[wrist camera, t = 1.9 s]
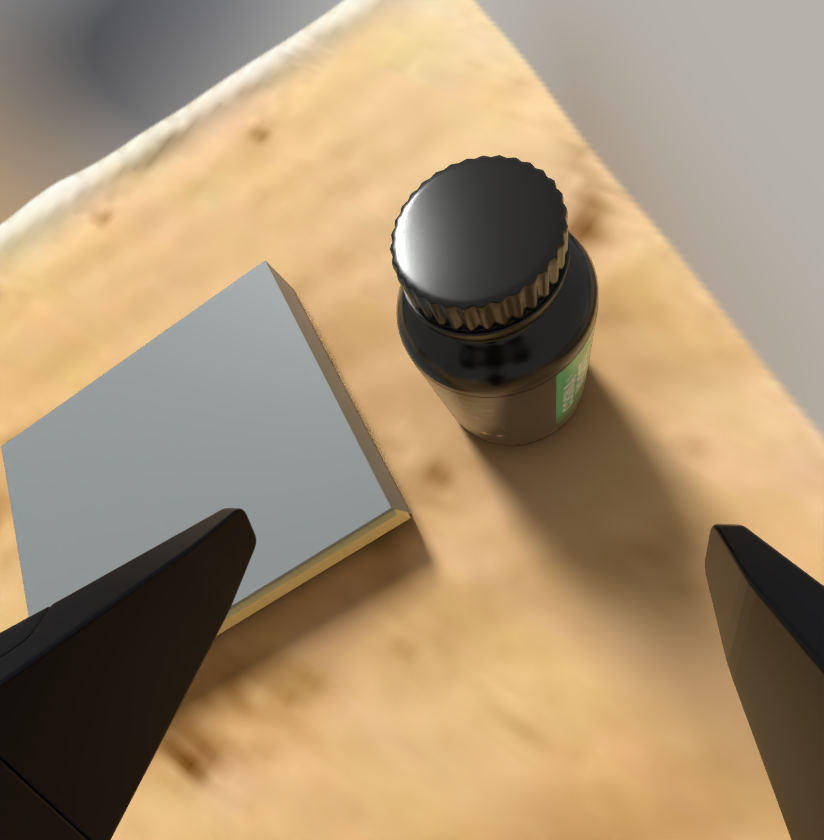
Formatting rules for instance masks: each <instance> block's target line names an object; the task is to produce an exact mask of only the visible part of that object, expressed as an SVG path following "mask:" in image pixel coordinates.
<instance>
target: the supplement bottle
mask: <svg viewBox="0 0 824 840" xmlns="http://www.w3.org/2000/svg"><path fill="white" fill-rule="evenodd" d="M567 220H568V212H567V208H566V207H565V205H564V204H563V194H562V193H561V192H560V191H559V190H558V189H557V188H556V184H555V181H554V180H552V179H550V178H548V177H547V176H546V174H545V172H544V171H543V170H541V169H537V168H535V167H534V166H533V165H532V164H531V163H529V162H521V161H520V160H519V159H517V158H505V157H503V156H500V155H499V156H494V157H488V156H481V157H478V158H476V159H466V160H464V161H462V162H460V163H457V164H451V165H450V166H448V167H447V168H446V169H445V170H442V171H439V172H436V173H435V174H434V175H433V176H432V177H431V178H430V179H428V180H426V181H424V182H422V184H421V185H420V187H419V188H418V189H417V190H416V191H414V192H413V193H412V194H411V195H410V197H409V200H408V201H407V202H406V203H405V204H404V205H403V206H402V208H401V213H400V215H399V216H398V217H397V219H396V220H395V229H394V230H393V232H392V234H391V236H392V241H393V242H392V245H391V248H390V251H391V254H392V256H393V259H392V265H393V268H394V270H395V272H396V273H397V277H398V281H399V282H400V284H401V285H400V289H399V293H398V299H397V324H398V329H399V334H400V337H401V340H402V342H403V345H404V347H405V349H406V351H407V353H408V354H409V356H410V358H411V359H412V361H413V362H414V364H415V365H416V366H417V368H418V369H419V371H420V372H421V373H422V375H423V376H424V377H425V379H426V380H427V381H428V383H429V384H430V385H431V387H432V388H433V389H434V391H435V392H436V393H437V395H438V396H439V397H440V399H441V400H442V401H443V403H444V404H445V405H446V407H447V408H448V409H449V411H450V412H451V413H452V415H453V416H454V417H455V418H456V420H457V421H458V422H459V423H460V424H461V425H462V426H463V427H464V428H465V429H467V430H468V431H469V432H471V433H472V434H474V435H475V436H477V437H479V438H481V439H483V440H486V441H489V442H492V443H496V444H503V445H520V444H526V443H530V442H534V441H537V440H540V439H542V438H544V437H546V436H548V435H550V434H551V433H553V432H555V431H556V430H557V429H559V428H560V427H561V426H562V425H563V424H564V423H565V422H566V421H567V420H568V419H569V418H570V416H571V415H572V414H573V412H574V411H575V409H576V407H577V406H578V403H579V401H580V399H581V396H582V393H583V390H584V385H585V381H586V376H587V370H588V364H589V358H590V352H591V346H592V340H593V334H594V329H595V323H596V317H597V309H598V281H597V275H596V271H595V268H594V265H593V263H592V260H591V258H590V256H589V254H588V252H587V250H586V249H585V248H584V246H583V245H582V243H581V242H580V241H579V240H578V239H577V237H576V236H575V235H574V234H573V233H571V232H570V231H569V230H568V225H567Z"/></svg>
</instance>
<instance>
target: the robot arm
mask: <svg viewBox="0 0 824 840" xmlns="http://www.w3.org/2000/svg"><path fill="white" fill-rule="evenodd" d="M255 547H256V535H255V533H254V530H253V528H252V526H251V523H250V521H249V519H248V516H247V514H246V512H245V511H244V510H243V509H241V508H224V509H222V510H220V511H218V512H216V513H214V514H213V515H211V516H209V517H207V518H205V519H204V520H202V521H200V522H198V523H197V524H195V525H193V526H191V527H189V528H188V529H186V530H184V531H182V532H180V533H179V534H177V535H175V536H173V537H172V538H170V539H168V540H166V541H164V542H163V543H161V544H159V545H157V546H155V547H154V548H152V549H150V550H148V551H147V552H145V553H143V554H141V555H139V556H138V557H136V558H134V559H132V560H130V561H129V562H127V563H125V564H123V565H121V566H120V567H118V568H116V569H114V570H113V571H111V572H109V573H107V574H105V575H104V576H102V577H100V578H98V579H96V580H95V581H93V582H91V583H89V584H88V585H86V586H84V587H82V588H80V589H79V590H77V591H75V592H73V593H71V594H70V595H68V596H66V597H64V598H63V599H61V600H59V601H57V602H55V603H54V604H52V605H51V607H46V608H44V609H43V610H41V611H39V612H37V613H36V614H34V615H32V616H30V617H28V618H27V619H25V620H23V621H21V622H19V623H17V624H16V625H14V626H12V627H10V628H8V629H6V630H5V631H3V632H1V633H0V840H111V838H112V836H113V834H114V832H115V830H116V828H117V826H118V825H119V823H120V821H121V819H122V817H123V815H124V813H125V811H126V809H127V807H128V805H129V803H130V801H131V800H132V798H133V796H134V794H135V792H136V790H137V788H138V786H139V784H140V782H141V780H142V778H143V776H144V774H145V773H146V771H147V769H148V767H149V765H150V763H151V761H152V759H153V757H154V755H155V753H156V751H157V749H158V748H159V746H160V744H161V742H162V740H163V738H164V736H165V734H166V732H167V730H168V728H169V726H170V724H171V723H172V721H173V719H174V717H175V715H176V713H177V711H178V709H179V707H180V705H181V703H182V701H183V699H184V698H185V696H186V694H187V692H188V690H189V688H190V686H191V684H192V682H193V680H194V678H195V676H196V674H197V673H198V671H199V669H200V667H201V665H202V663H203V661H204V659H205V657H206V655H207V653H208V651H209V649H210V647H211V646H212V644H213V642H214V640H215V638H216V636H217V634H218V632H219V630H220V628H221V626H222V624H223V622H224V620H225V618H226V616H227V614H228V612H229V610H230V608H231V606H232V603H233V601H234V599H235V596H236V594H237V591H238V589H239V586H240V584H241V581H242V579H243V577H244V574H245V572H246V569H247V567H248V564H249V562H250V559H251V557H252V554H253V552H254V549H255ZM705 570H706V576H707V580H708V584H709V589H710V593H711V597H712V601H713V606H714V610H715V614H716V618H717V622H718V627H719V631H720V635H721V639H722V643H723V648H724V652H725V655H726V659H727V663H728V666H729V669H730V672H731V675H732V678H733V681H734V684H735V687H736V690H737V692H738V695H739V698H740V700H741V703H742V706H743V709H744V711H745V714H746V717H747V720H748V722H749V725H750V728H751V730H752V733H753V736H754V739H755V741H756V744H757V747H758V750H759V752H760V755H761V758H762V761H763V763H764V766H765V769H766V771H767V774H768V777H769V780H770V782H771V785H772V788H773V791H774V793H775V796H776V799H777V801H778V804H779V807H780V810H781V812H782V815H783V818H784V821H785V823H786V826H787V829H788V831H789V834H790V837H791V840H824V586H823V585H822V584H820V583H819V582H818V581H816V580H815V579H814V578H812V577H811V576H810V575H808V574H807V573H806V572H804V571H803V570H802V569H800V568H799V567H798V566H796V565H795V564H794V563H792V562H791V561H790V560H788V559H787V558H786V557H784V556H783V555H782V554H781V553H779V552H778V551H777V550H775V549H774V548H773V547H771V546H770V545H769V544H767V543H766V542H765V541H763V540H762V539H761V538H759V537H758V536H757V535H755V534H754V533H753V532H751V531H750V530H749V529H747V528H746V527H744V526H742V525H735V524H716V525H714V526H713V527H712V528H711V531H710V536H709V542H708V548H707V553H706V559H705Z"/></svg>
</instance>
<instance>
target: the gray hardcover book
mask: <svg viewBox="0 0 824 840" xmlns="http://www.w3.org/2000/svg"><path fill="white" fill-rule="evenodd" d="M1 448H2V454H3V460H4V466H5V472H6V479H7V485H8V491H9V497H10V503H11V510H12V516H13V522H14V528H15V534H16V541H17V547H18V553H19V559H20V565H21V572H22V578H23V584H24V590H25V597H26V603H27V609H28V615H29V617H30V616H32V615H34V614H36V613H37V612H39V611H41V610H43V609H44V608H46V607H51V605H52V604H54V603H55V602H57V601H59V600H61V599H63V598H64V597H66V596H68V595H70V594H71V593H73V592H75V591H77V590H79V589H80V588H82V587H84V586H86V585H88V584H89V583H91V582H93V581H95V580H96V579H98V578H100V577H102V576H104V575H105V574H107V573H109V572H111V571H113V570H114V569H116V568H118V567H120V566H121V565H123V564H125V563H127V562H129V561H130V560H132V559H134V558H136V557H138V556H139V555H141V554H143V553H145V552H147V551H148V550H150V549H152V548H154V547H155V546H157V545H159V544H161V543H163V542H164V541H166V540H168V539H170V538H172V537H173V536H175V535H177V534H179V533H180V532H182V531H184V530H186V529H188V528H189V527H191V526H193V525H195V524H197V523H198V522H200V521H202V520H204V519H205V518H207V517H209V516H211V515H213V514H214V513H216V512H218V511H220V510H222V509H224V508H241V509H243V510H244V511H245V512H246V514H247V516H248V519H249V521H250V523H251V526H252V528H253V530H254V533H255V535H256V547H255V549H254V552H253V554H252V557H251V559H250V562H249V564H248V567H247V569H246V572H245V574H244V577H243V579H242V581H241V584H240V586H239V589H238V591H237V594H236V596H235V599H234V601H233V603H232V606H231V608H230V610H229V612H228V614H227V616H226V618H225V620H224V622H223V624H222V626H221V628H220V630H219V632H218V634H217V635H219V634H221V633H222V632H224V631H226V630H227V629H229V628H230V627H232V626H234V625H235V624H237V623H239V622H240V621H242V620H244V619H245V618H247V617H249V616H250V615H252V614H253V613H255V612H257V611H258V610H260V609H262V608H263V607H265V606H267V605H268V604H270V603H272V602H273V601H275V600H277V599H278V598H280V597H281V596H283V595H285V594H286V593H288V592H290V591H291V590H293V589H295V588H296V587H298V586H300V585H301V584H303V583H304V582H306V581H308V580H309V579H311V578H313V577H314V576H316V575H318V574H319V573H321V572H323V571H324V570H326V569H328V568H329V567H331V566H332V565H334V564H336V563H337V562H339V561H341V560H342V559H344V558H346V557H347V556H349V555H351V554H352V553H354V552H356V551H357V550H359V549H360V548H362V547H364V546H365V545H367V544H369V543H370V542H372V541H374V540H375V539H377V538H379V537H380V536H382V535H383V534H385V533H387V532H388V531H390V530H392V529H393V528H395V527H397V526H398V525H400V524H402V523H403V522H405V521H407V520H408V519H410V518H411V517H410V515H409V514H411V512H410V511H409V509H408V507H407V505H406V503H405V501H404V499H403V497H402V495H401V493H400V492H399V490H398V488H397V486H396V484H395V482H394V480H393V478H392V476H391V474H390V473H389V471H388V469H387V467H386V465H385V463H384V461H383V459H382V457H381V455H380V453H379V452H378V450H377V448H376V446H375V444H374V442H373V440H372V438H371V436H370V434H369V433H368V431H367V429H366V427H365V425H364V423H363V421H362V419H361V417H360V415H359V413H358V412H357V410H356V408H355V406H354V404H353V402H352V400H351V398H350V396H349V394H348V393H347V391H346V389H345V387H344V385H343V383H342V381H341V379H340V377H339V375H338V373H337V372H336V370H335V368H334V366H333V364H332V362H331V360H330V358H329V356H328V354H327V353H326V351H325V349H324V347H323V345H322V343H321V341H320V339H319V337H318V335H317V333H316V332H315V330H314V328H313V326H312V324H311V322H310V320H309V318H308V316H307V314H306V313H305V311H304V309H303V307H302V305H301V303H300V301H299V299H298V297H297V295H296V294H295V292H294V290H293V288H292V287H291V286H290V285H289V284H288V283H287V282H286V281H285V280H284V279H283V278H282V277H281V276H280V275H279V274H278V273H277V272H276V271H275V270H274V269H273V268H272V267H271V266H270V265H269V264H268V263H267V262H266V261H263V262H262V263H261V264H259V265H258V266H256V267H255V268H254V269H252V270H251V271H249V272H248V273H246V274H245V275H244V276H242V277H241V278H239V279H238V280H237V281H235V282H234V283H232V284H231V285H229V286H228V287H227V288H225V289H224V290H222V291H221V292H220V293H218V294H217V295H215V296H214V297H212V298H211V299H210V300H208V301H207V302H205V303H204V304H203V305H201V306H200V307H198V308H197V309H195V310H194V311H193V312H191V313H190V314H188V315H187V316H186V317H184V318H183V319H181V320H180V321H178V322H177V323H176V324H174V325H173V326H171V327H170V328H169V329H167V330H166V331H164V332H163V333H161V334H160V335H159V336H157V337H156V338H154V339H153V340H152V341H150V342H149V343H147V344H146V345H144V346H143V347H142V348H140V349H139V350H137V351H136V352H135V353H133V354H132V355H130V356H129V357H127V358H126V359H125V360H123V361H122V362H120V363H119V364H118V365H116V366H115V367H113V368H112V369H110V370H109V371H108V372H106V373H105V374H103V375H102V376H101V377H99V378H98V379H96V380H95V381H93V382H92V383H91V384H89V385H88V386H86V387H85V388H84V389H82V390H81V391H79V392H78V393H76V394H75V395H74V396H72V397H71V398H69V399H68V400H67V401H65V402H64V403H62V404H61V405H59V406H58V407H57V408H55V409H54V410H52V411H51V412H50V413H48V414H47V415H45V416H44V417H42V418H41V419H40V420H38V421H37V422H35V423H34V424H33V425H31V426H30V427H28V428H27V429H25V430H24V431H23V432H21V433H20V434H18V435H17V436H16V437H14V438H13V439H11V440H10V441H8V442H7V443H6V444H4V445H3V446H1Z"/></svg>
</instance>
